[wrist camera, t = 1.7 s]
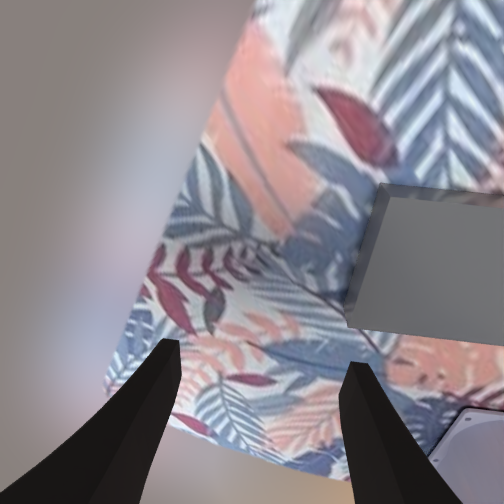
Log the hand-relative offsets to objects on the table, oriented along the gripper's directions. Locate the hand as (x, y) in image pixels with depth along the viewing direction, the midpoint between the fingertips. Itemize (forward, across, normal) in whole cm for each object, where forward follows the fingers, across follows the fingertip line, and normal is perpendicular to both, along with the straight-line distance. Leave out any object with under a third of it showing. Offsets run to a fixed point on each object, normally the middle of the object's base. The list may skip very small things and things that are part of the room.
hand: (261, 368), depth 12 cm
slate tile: (+10, -12, 0) cm, 15 cm away
